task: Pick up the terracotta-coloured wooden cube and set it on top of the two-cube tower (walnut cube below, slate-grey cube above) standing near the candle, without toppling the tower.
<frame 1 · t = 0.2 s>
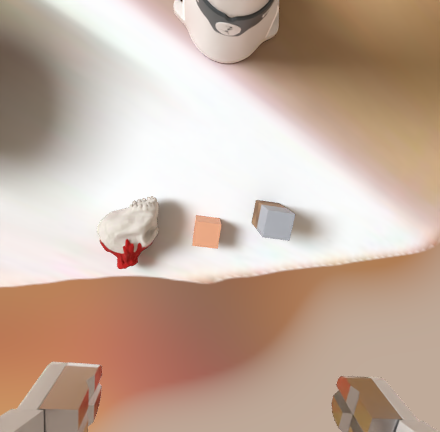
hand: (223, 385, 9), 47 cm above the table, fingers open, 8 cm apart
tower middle: (271, 218, 52), point 5 cm above the table, touching tower base
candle: (133, 227, 56), on the table
terracotta block: (206, 227, 57), on the table
tower base: (265, 212, 57), on the table, touching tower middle
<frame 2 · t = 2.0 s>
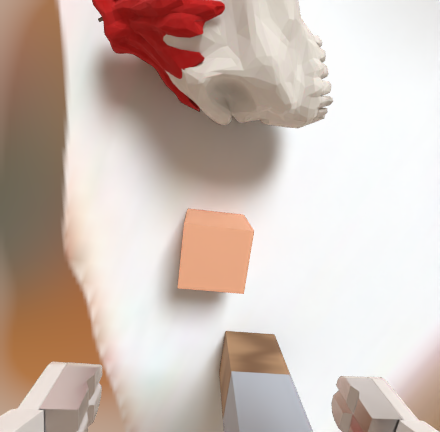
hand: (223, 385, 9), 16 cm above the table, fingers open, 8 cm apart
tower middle: (256, 397, 23), point 5 cm above the table, touching tower base
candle: (210, 52, 21), on the table
terracotta block: (212, 238, 24), on the table
tower base: (246, 353, 27), on the table, touching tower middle
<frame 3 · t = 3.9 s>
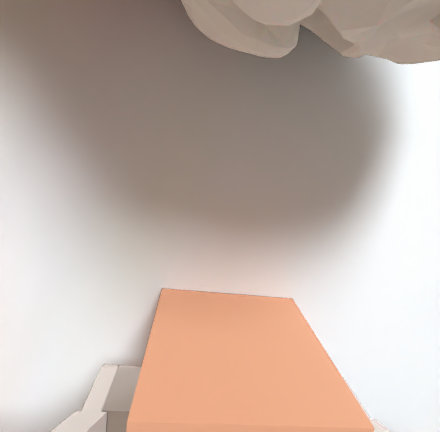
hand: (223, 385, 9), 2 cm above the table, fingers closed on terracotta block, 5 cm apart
terracotta block: (220, 350, 11), on the table, touching gripper
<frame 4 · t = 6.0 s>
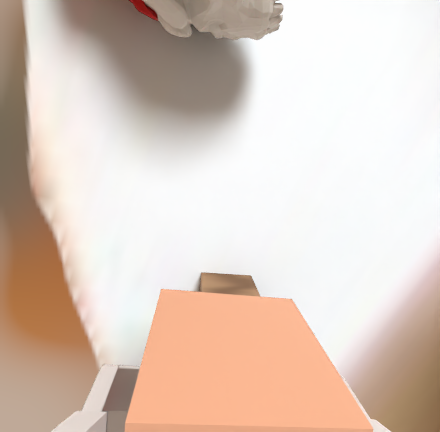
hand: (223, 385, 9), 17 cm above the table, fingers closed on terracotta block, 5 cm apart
terracotta block: (219, 350, 11), point 15 cm above the table, touching gripper
tower base: (223, 296, 27), on the table, touching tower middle
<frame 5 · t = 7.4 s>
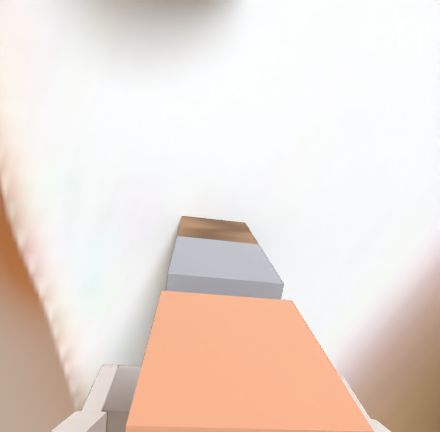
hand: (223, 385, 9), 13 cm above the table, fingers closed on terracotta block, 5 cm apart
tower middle: (213, 277, 17), point 5 cm above the table, touching tower base
terracotta block: (219, 351, 11), point 11 cm above the table, touching gripper
tower base: (210, 249, 22), on the table, touching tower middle
when the fingers open (13 cm above the table, at t = 8.2 s): terracotta block drops 1 cm, resting on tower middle.
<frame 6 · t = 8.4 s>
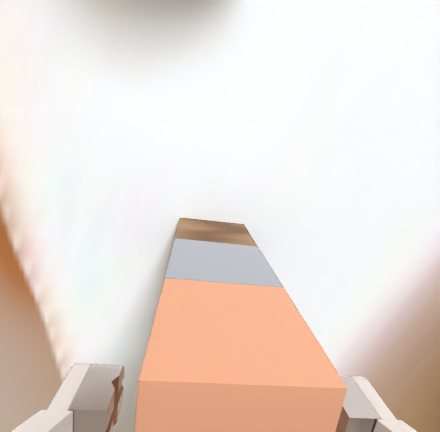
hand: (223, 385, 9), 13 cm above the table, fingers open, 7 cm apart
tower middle: (211, 280, 16), point 5 cm above the table, touching terracotta block, tower base
terracotta block: (218, 334, 12), point 10 cm above the table, touching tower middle
tower base: (208, 251, 21), on the table, touching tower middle
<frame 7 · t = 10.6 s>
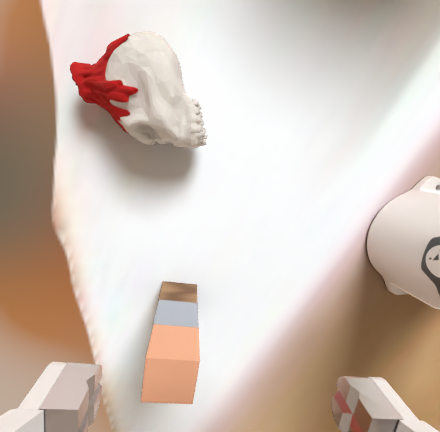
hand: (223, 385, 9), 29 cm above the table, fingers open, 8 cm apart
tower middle: (176, 318, 35), point 5 cm above the table, touching terracotta block, tower base
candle: (148, 98, 33), on the table
terracotta block: (173, 345, 30), point 10 cm above the table, touching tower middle
tower base: (177, 298, 40), on the table, touching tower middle
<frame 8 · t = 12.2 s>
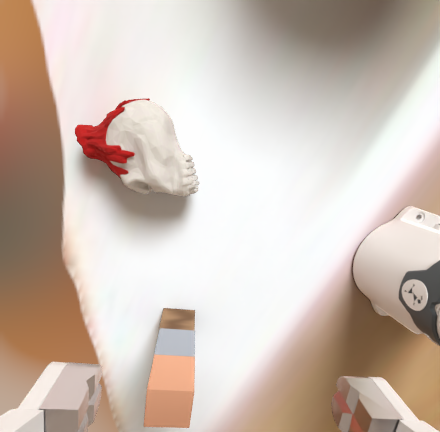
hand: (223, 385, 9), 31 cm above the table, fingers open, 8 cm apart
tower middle: (175, 344, 39), point 5 cm above the table, touching terracotta block, tower base
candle: (145, 147, 37), on the table
terracotta block: (172, 372, 34), point 10 cm above the table, touching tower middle
tower base: (177, 322, 44), on the table, touching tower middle
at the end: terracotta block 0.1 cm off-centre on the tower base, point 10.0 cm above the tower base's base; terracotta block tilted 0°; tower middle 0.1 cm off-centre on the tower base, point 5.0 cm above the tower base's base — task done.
